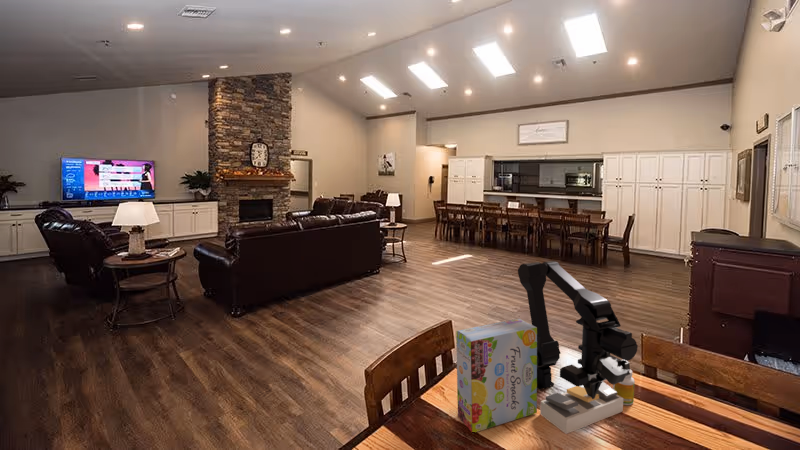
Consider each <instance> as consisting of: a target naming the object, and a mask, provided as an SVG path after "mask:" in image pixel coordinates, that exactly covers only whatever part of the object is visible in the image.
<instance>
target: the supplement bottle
mask: <svg viewBox="0 0 800 450" xmlns="http://www.w3.org/2000/svg"><path fill="white" fill-rule="evenodd" d="M629 372H630V375H627V376H625V378H624V380H623V382H619V383H616V384H612V388H613V389H614V390H615V391H617V395H618V396H620V397H622V398H623V406H631V405H633V404H634V400H635V399H634V398H635V378H634V377H633V370H632V369H631V368H630V371H629Z"/></svg>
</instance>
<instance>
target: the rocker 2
mask: <svg viewBox="0 0 800 450" xmlns="http://www.w3.org/2000/svg"><path fill="white" fill-rule="evenodd" d="M598 393H599V394H600V395H602V396H603V397H604V398H606V399H607V398H610V397H613V396H615V395H617V391H615V390H614V389H613V387H611V386H610V385H609V384H607V383H606V382H605V381H603V382H602V383H601V385H600V387H599V389H598Z"/></svg>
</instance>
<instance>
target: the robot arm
mask: <svg viewBox="0 0 800 450" xmlns="http://www.w3.org/2000/svg"><path fill="white" fill-rule="evenodd" d="M517 275H518V279H519V282H520V284H521V286H522V287H523V288H524V290H525V291H526V295H527V301H528V309H529V314H530V319H531V320H530V321H531V325H533V326H535V327H537V390H543V389H546V388H550V387H553V386H555V383H554V381H552V377H553V376H552V367H553V366H556V365H557V362H558V361H559V360H560V358H561V357H560V354H562V353H561V350H560V344H559V341H558V340H555V339H554V337H552V335H551V334H550V333H551V332H550V325H549V320H548V315H547V309H546V302H545V294H544V287H545V286H546V282H547V278H548V279H549V280H550V281H551V282H552V283H553V284H554V285H555V286H556V287H558V288H559V289H560V290H561V291H562V292H563V293H564V294H565V295H566V297H568V298H569V299H570V300H571V301H572V302H573V307H574V309H575V312H577V313H578V315H579V316H580V318H579V319H577V320H575V323H576V324H578V325H581V326H582V333H581V334H582V335H581V336H582V337H581V344H579V345H577V346H578V347H577V348H578V350H580V351H581V358H579V359H577V364H579V365H580V366H581V367H577V366H575V365H574V364H569V365H565V366H563V367H561V368H559V377H560V378H561V379H563V380H565V381H566V382H569V383H570V384H572V385H574V387H575V386H579V387H584V388H585V390H586V392H587V395H588V396H590V397H592V399H594V398H595V396H596V394H597V392H598V389H599V387H600V385H601V383H602V382H605V381H606V380H607V382H608V383H609V384H611V385H613V384H616V383H619V382H623V380H624V378H625V376H627V375H630V372H629V371H630V369H631V367H630V362H629V361H631V360H632V359H634V357H635V356H636V354H637V353H638V347H639V346H638V344H637V341H636V339H635V338H633V333H632V332H631V331H627V330H623V329H620V327H621V322H620V321H619V319H618V317H617V316H616V314H615V312H614V310H613V308H612V304H611V302H610V301H609V300H608V299H606V297H603V296H602V295H601V294H599V293H598V292H594V291H592V290H589V289H587V288H585V286H583V285H582V284H581V283H580V282H579V281H577V280H576V279H575V278H574V277H573V276H572V275H571V274H570V273H568V272H567V271H566V270H565V269H564V268H563V267H562V266H561V265H560V263H559V262H558V261H555V260H550V261H544V262H540V261H535V262H526V263H521V264H520V266H519V267H518V268H517ZM602 320H606V321H602ZM599 321H600V322H599Z"/></svg>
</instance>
